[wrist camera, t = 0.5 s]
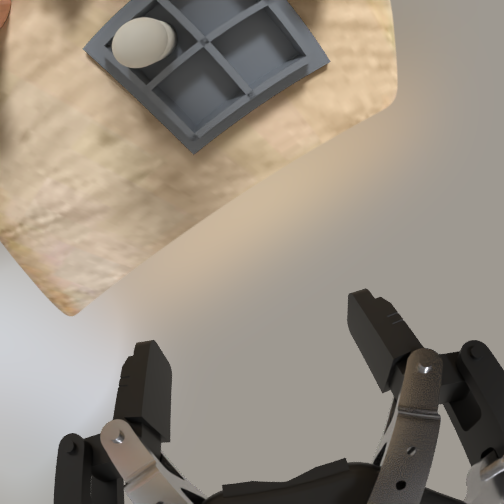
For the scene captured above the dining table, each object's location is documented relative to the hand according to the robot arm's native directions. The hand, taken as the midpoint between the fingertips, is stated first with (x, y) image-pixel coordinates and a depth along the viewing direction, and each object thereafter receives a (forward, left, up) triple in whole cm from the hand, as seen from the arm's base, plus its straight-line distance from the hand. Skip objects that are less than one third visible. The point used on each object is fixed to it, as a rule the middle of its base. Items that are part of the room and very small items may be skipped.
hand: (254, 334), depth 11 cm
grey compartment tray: (-9, +4, -28) cm, 30 cm away
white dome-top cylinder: (-13, 0, -27) cm, 30 cm away
